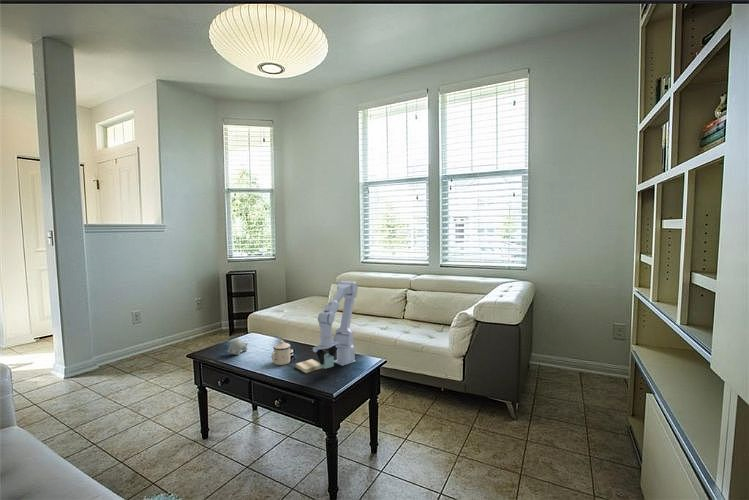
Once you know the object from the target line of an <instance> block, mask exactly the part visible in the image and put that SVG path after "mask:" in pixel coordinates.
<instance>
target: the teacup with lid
mask: <svg viewBox="0 0 749 500" xmlns="http://www.w3.org/2000/svg"><path fill="white" fill-rule="evenodd" d="M284 341H285V340H280V341H279V342H278V343H276V344H274V346H273V347H272V348H273V352H272V353H271V360H272V361H273V363H274V364H275V365H277V366H283V365H287V364H290V362H291V348H292V347H291V344H290V343H287V342H284Z"/></svg>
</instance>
